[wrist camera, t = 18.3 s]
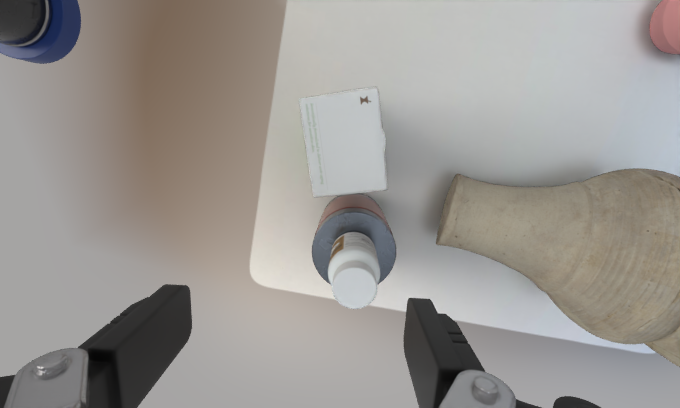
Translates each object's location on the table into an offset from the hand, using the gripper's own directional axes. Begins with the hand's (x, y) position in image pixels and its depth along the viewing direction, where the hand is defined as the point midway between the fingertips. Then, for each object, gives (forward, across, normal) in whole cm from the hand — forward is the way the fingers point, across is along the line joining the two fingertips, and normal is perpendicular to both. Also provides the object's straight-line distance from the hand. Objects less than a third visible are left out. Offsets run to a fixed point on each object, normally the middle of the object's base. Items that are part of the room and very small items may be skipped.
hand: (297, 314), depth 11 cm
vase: (+30, -24, +2) cm, 39 cm away
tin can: (+30, -3, +5) cm, 31 cm away
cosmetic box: (+30, -2, -6) cm, 31 cm away
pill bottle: (+19, -3, +5) cm, 20 cm away
